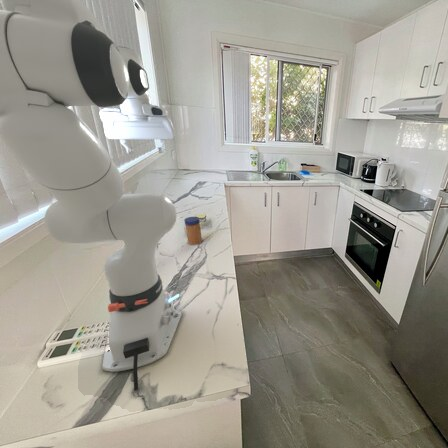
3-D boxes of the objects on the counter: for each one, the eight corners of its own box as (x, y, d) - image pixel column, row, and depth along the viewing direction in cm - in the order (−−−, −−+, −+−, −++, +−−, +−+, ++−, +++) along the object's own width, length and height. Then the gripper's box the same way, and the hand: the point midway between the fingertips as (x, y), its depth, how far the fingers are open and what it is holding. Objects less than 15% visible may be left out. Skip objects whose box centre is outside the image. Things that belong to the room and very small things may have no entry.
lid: (199, 224, 114) (199, 221, 113) (184, 226, 112) (183, 222, 111) (199, 219, 120) (199, 216, 119) (185, 220, 117) (184, 217, 117)
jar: (202, 243, 118) (199, 221, 113) (187, 245, 116) (184, 223, 111) (202, 238, 123) (199, 217, 119) (188, 239, 121) (185, 218, 117)
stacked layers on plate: (210, 227, 136) (209, 218, 134) (193, 229, 133) (192, 219, 131) (209, 220, 144) (208, 212, 142) (193, 222, 141) (192, 213, 139)
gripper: (94, 107, 72) (107, 155, 78) (171, 110, 80) (177, 153, 86) (100, 107, 78) (112, 152, 83) (171, 110, 85) (178, 151, 91)
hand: (146, 153), depth 85 cm, fingers open, 8 cm apart
